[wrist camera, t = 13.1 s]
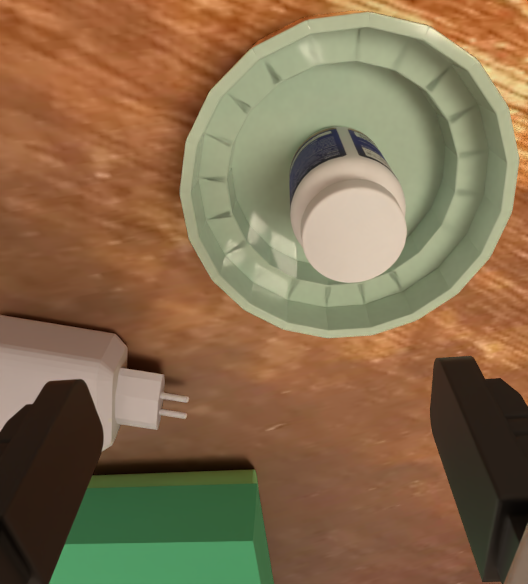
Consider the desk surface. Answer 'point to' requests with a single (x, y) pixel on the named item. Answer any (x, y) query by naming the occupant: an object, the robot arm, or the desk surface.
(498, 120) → the ceramic bowl
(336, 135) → the pill bottle
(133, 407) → the charger
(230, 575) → the toy tank
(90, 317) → the desk surface
